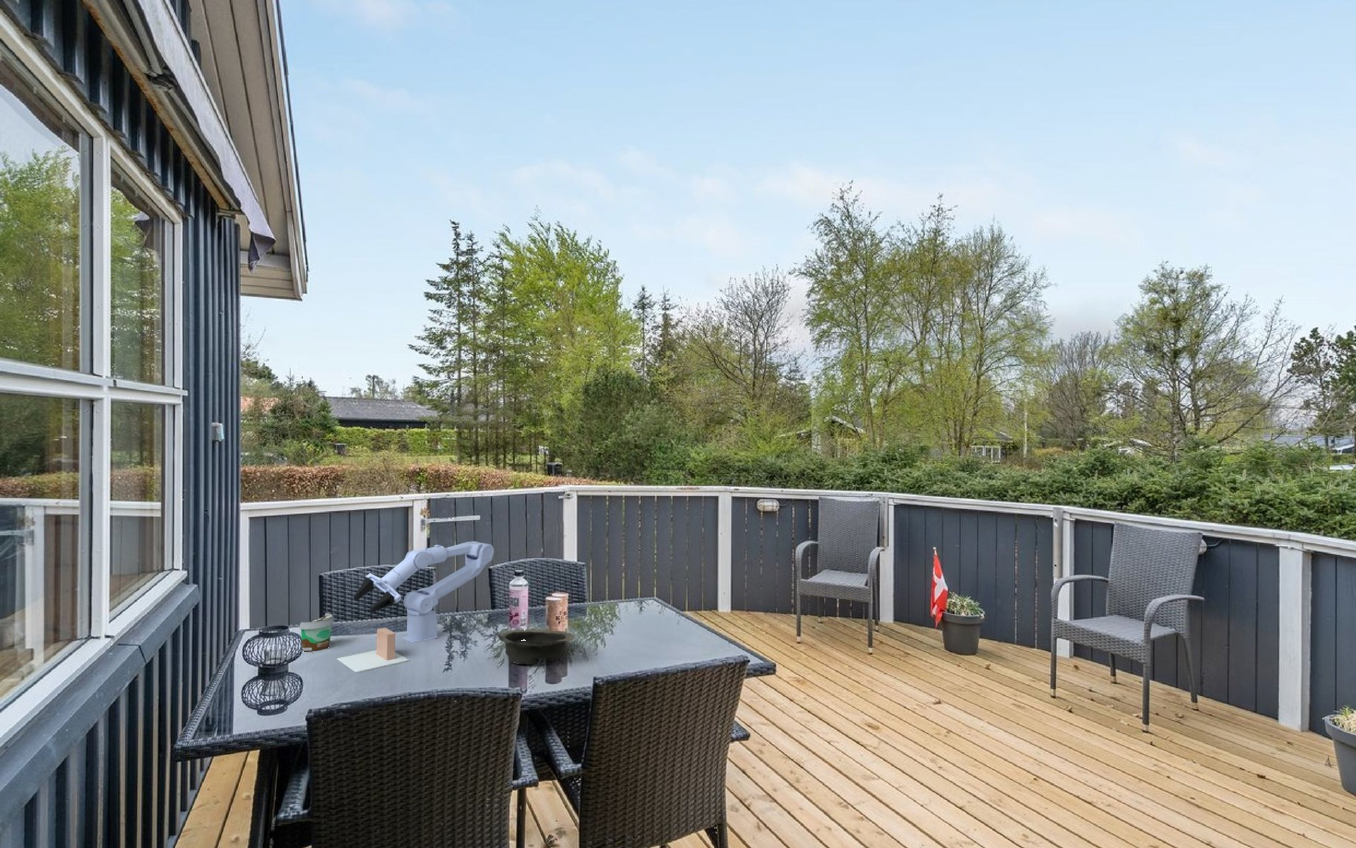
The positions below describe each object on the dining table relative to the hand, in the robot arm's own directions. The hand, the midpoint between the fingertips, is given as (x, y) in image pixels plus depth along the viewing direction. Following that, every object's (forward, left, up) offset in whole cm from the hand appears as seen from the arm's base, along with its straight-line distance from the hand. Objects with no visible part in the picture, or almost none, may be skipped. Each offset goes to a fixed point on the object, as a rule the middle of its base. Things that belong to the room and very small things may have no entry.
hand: (362, 605), depth 222 cm
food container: (+8, -12, -16) cm, 21 cm away
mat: (0, +10, -15) cm, 18 cm away
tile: (-4, +10, -15) cm, 18 cm away
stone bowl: (-40, +40, -16) cm, 58 cm away
